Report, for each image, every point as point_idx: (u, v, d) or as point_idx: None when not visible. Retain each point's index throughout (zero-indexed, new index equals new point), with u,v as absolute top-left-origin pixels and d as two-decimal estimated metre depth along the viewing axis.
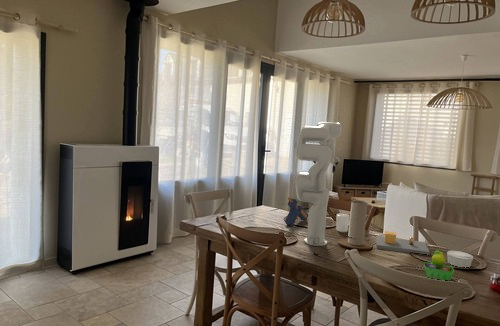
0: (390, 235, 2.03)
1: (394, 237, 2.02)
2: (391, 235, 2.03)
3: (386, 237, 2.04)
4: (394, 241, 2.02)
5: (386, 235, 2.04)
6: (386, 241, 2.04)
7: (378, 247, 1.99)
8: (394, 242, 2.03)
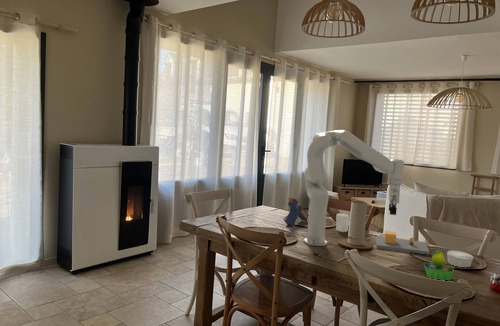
0: (390, 235, 2.03)
1: (394, 237, 2.02)
2: (391, 235, 2.03)
3: (386, 237, 2.04)
4: (394, 241, 2.02)
5: (386, 235, 2.04)
6: (386, 241, 2.04)
7: (378, 247, 1.99)
8: (394, 242, 2.03)
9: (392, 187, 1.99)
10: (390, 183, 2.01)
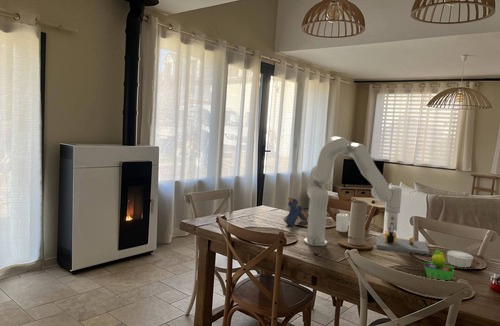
0: None
1: (394, 237, 2.02)
2: None
3: (386, 237, 2.04)
4: (394, 241, 2.02)
5: (386, 235, 2.04)
6: (386, 241, 2.04)
7: (378, 247, 1.99)
8: (394, 242, 2.03)
9: (390, 215, 2.01)
10: (388, 210, 2.02)
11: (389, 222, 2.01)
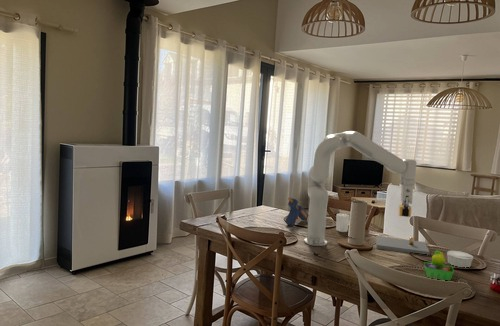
0: None
1: (409, 210, 1.99)
2: None
3: (401, 210, 2.00)
4: (409, 214, 1.99)
5: (401, 208, 2.00)
6: (401, 214, 2.00)
7: (378, 247, 1.99)
8: (409, 215, 1.99)
9: (405, 187, 1.97)
10: (403, 183, 1.99)
11: (404, 195, 1.97)
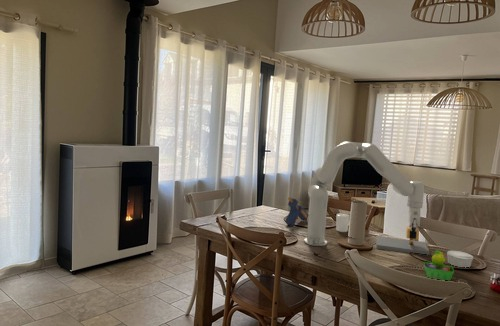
0: None
1: (417, 232, 1.99)
2: None
3: (408, 232, 2.00)
4: (417, 237, 1.99)
5: (408, 230, 2.00)
6: (408, 237, 2.00)
7: (378, 247, 1.99)
8: (417, 238, 1.99)
9: (412, 210, 1.97)
10: (410, 205, 1.98)
11: (412, 217, 1.97)
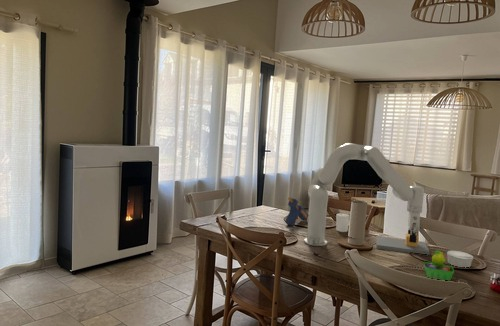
0: None
1: (416, 240, 1.99)
2: None
3: (408, 240, 2.00)
4: (416, 244, 1.99)
5: (408, 238, 2.00)
6: (408, 244, 2.01)
7: (378, 247, 1.99)
8: (416, 245, 1.99)
9: (412, 214, 1.97)
10: (410, 210, 1.99)
11: (411, 222, 1.97)
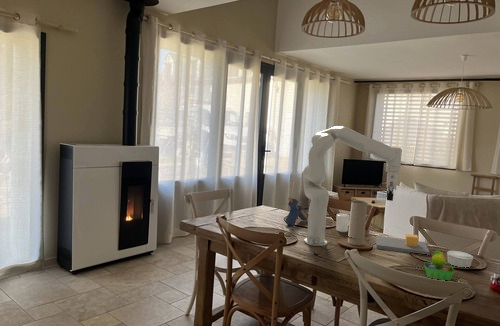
0: (412, 238, 2.00)
1: (416, 240, 1.99)
2: (413, 238, 2.00)
3: (408, 240, 2.00)
4: (416, 244, 1.99)
5: (408, 238, 2.00)
6: (408, 244, 2.01)
7: (378, 247, 1.99)
8: (416, 245, 1.99)
9: (390, 174, 2.06)
10: (388, 170, 2.07)
11: (389, 181, 2.06)
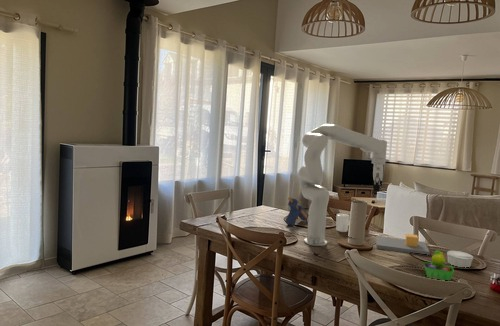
0: (412, 238, 2.00)
1: (416, 240, 1.99)
2: (413, 238, 2.00)
3: (408, 240, 2.00)
4: (416, 244, 1.99)
5: (408, 238, 2.00)
6: (408, 244, 2.01)
7: (378, 247, 1.99)
8: (416, 245, 1.99)
9: (376, 165, 2.12)
10: (374, 162, 2.14)
11: (375, 172, 2.12)
